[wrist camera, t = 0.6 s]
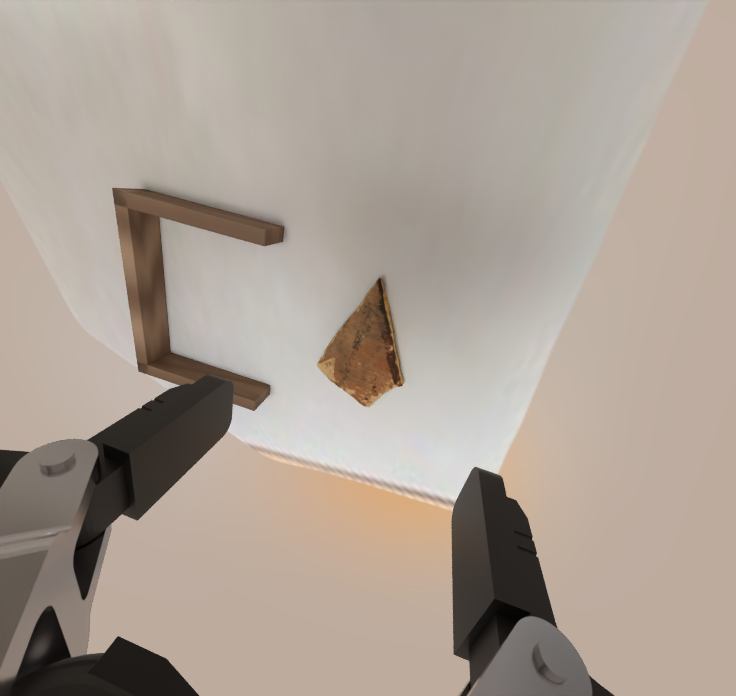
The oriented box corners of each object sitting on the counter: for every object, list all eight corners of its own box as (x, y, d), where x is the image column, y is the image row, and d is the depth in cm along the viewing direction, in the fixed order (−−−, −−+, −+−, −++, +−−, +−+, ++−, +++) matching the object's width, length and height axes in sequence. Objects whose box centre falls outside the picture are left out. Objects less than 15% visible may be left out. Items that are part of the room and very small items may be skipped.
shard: (383, 273, 26) (379, 278, 25) (453, 329, 27) (453, 338, 25) (317, 359, 31) (310, 367, 30) (378, 405, 32) (374, 415, 30)
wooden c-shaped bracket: (144, 189, 28) (112, 188, 25) (283, 226, 26) (265, 229, 23) (161, 358, 36) (138, 371, 33) (269, 394, 34) (254, 410, 31)
